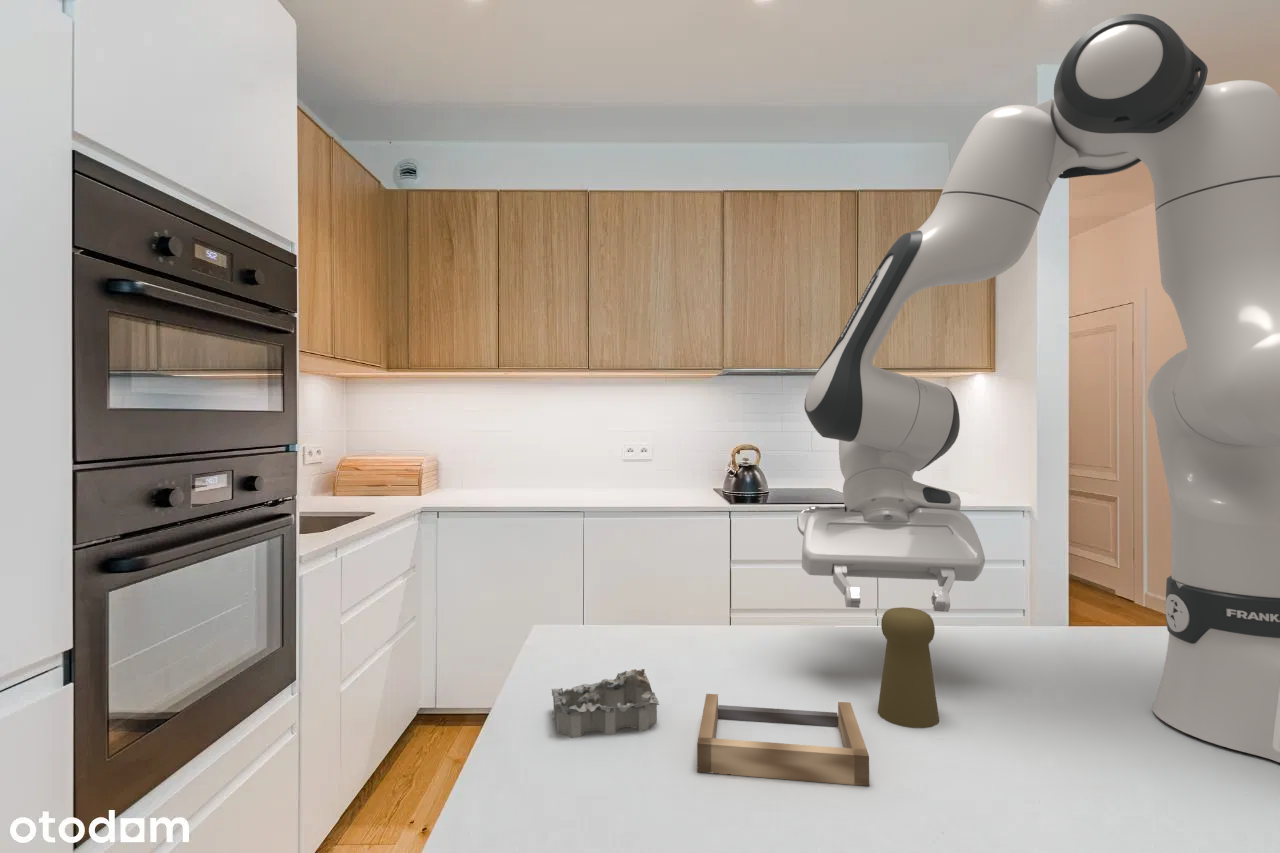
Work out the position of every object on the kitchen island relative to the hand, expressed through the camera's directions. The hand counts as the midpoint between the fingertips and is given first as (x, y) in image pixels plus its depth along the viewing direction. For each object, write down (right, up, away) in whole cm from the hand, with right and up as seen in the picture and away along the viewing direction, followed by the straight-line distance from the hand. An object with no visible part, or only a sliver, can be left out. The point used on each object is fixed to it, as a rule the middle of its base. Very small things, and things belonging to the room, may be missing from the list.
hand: (897, 607), depth 75 cm
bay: (-15, -10, -11) cm, 22 cm away
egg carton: (-32, -11, -5) cm, 34 cm away
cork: (-1, -10, -5) cm, 11 cm away
